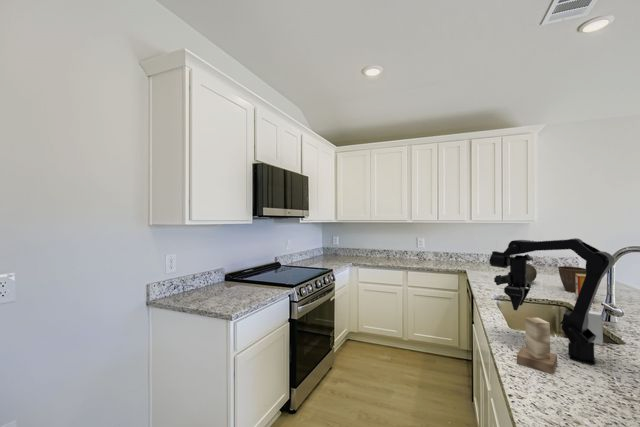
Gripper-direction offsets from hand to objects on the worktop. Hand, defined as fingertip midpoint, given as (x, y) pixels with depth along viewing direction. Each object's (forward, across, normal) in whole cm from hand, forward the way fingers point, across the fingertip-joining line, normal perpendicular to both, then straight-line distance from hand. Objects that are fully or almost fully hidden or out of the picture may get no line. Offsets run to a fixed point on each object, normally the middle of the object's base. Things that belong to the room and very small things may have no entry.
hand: (517, 307), depth 122 cm
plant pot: (+14, -119, +10) cm, 120 cm away
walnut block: (+14, +19, +9) cm, 25 cm away
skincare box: (+13, -18, +22) cm, 32 cm away
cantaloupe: (+15, -128, -18) cm, 130 cm away
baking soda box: (+14, -94, +16) cm, 96 cm away
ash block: (+10, +19, +9) cm, 23 cm away
